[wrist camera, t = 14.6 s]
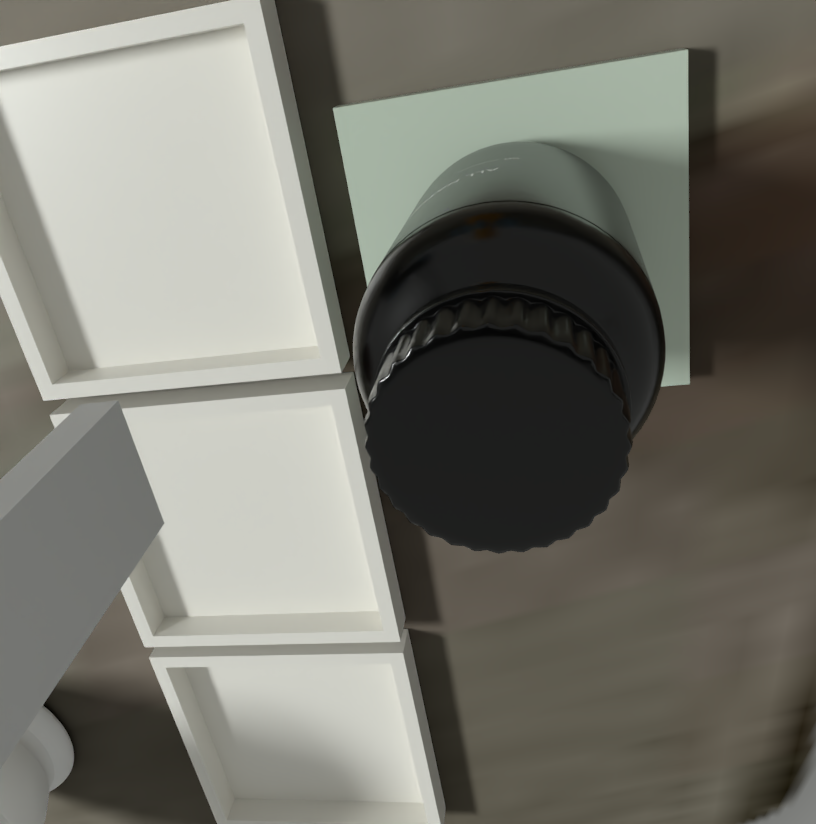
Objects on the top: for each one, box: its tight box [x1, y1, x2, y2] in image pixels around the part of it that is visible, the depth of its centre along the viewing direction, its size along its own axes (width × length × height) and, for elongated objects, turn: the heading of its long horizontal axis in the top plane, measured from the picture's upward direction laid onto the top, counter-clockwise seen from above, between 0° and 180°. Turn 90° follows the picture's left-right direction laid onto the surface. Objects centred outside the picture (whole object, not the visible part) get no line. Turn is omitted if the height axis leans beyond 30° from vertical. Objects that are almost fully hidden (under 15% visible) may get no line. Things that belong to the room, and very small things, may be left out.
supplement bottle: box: [353, 142, 666, 553], centre depth 19 cm, size 7×7×12 cm
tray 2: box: [149, 629, 446, 824], centre depth 36 cm, size 11×11×1 cm
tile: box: [333, 48, 690, 387], centre depth 25 cm, size 10×10×1 cm
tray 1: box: [0, 0, 350, 401], centre depth 26 cm, size 11×11×1 cm
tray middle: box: [50, 372, 406, 647], centre depth 31 cm, size 11×11×1 cm
